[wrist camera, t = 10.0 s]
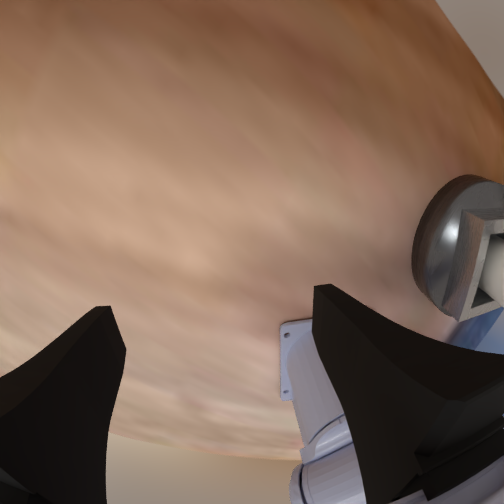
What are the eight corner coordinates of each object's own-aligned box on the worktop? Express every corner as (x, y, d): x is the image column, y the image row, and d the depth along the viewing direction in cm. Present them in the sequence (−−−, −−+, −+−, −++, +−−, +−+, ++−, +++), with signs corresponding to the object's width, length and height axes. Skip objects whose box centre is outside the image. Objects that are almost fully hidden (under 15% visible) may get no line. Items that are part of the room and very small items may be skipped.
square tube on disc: (485, 288, 25) (516, 315, 20) (400, 310, 24) (432, 348, 19) (507, 177, 20) (549, 194, 15) (420, 172, 19) (470, 190, 14)
